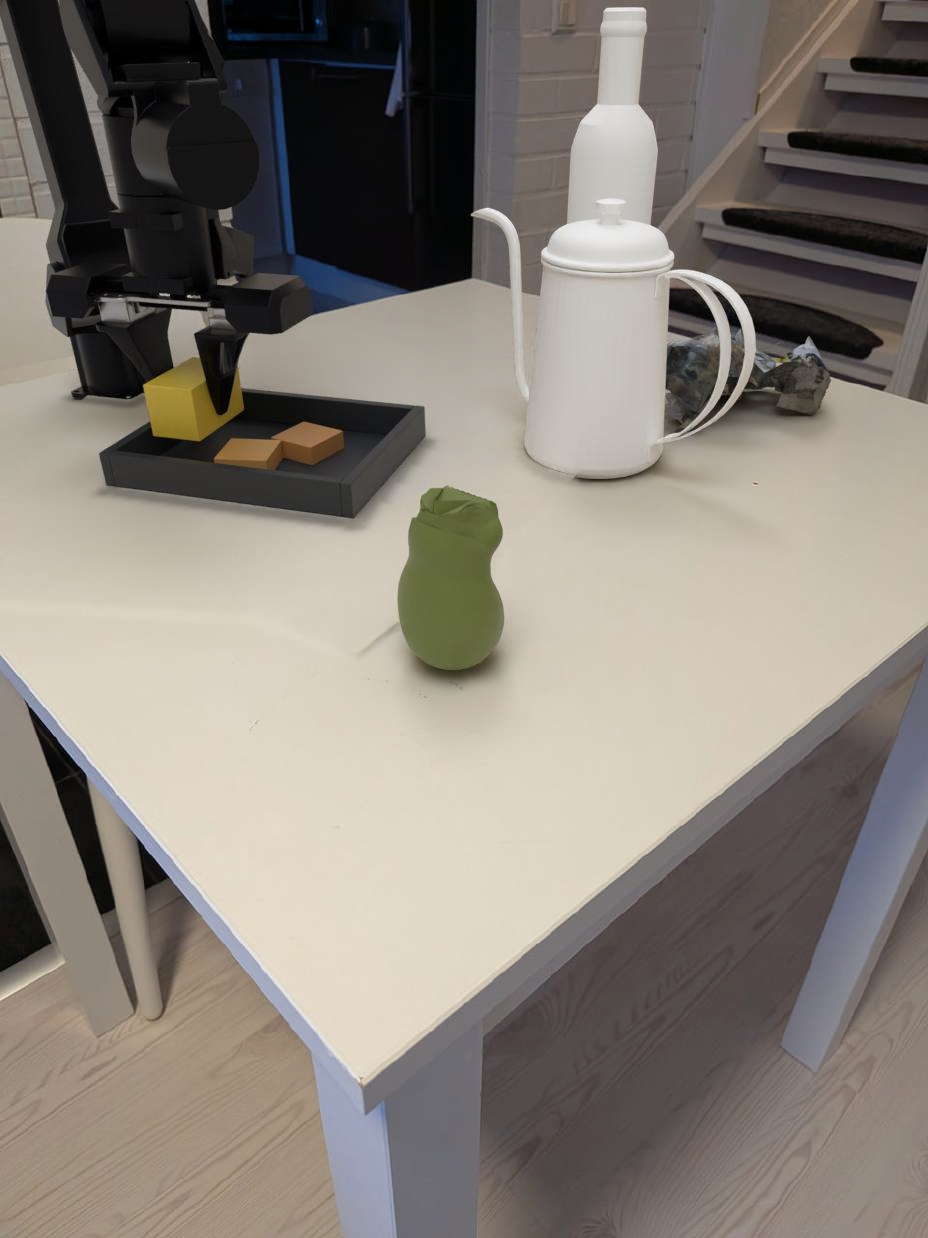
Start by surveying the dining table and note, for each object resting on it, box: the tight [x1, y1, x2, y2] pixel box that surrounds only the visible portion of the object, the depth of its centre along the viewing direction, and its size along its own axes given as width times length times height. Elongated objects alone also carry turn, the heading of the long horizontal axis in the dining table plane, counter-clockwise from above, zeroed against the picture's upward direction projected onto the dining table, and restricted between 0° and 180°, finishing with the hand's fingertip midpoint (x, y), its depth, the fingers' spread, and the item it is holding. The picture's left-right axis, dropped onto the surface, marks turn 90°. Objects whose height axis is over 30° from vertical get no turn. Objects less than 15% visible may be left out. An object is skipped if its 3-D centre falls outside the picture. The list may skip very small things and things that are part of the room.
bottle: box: [566, 6, 659, 225], centre depth 84 cm, size 8×8×30 cm
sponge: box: [143, 356, 244, 441], centre depth 70 cm, size 4×7×4 cm, turn 164°
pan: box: [98, 387, 426, 519], centre depth 71 cm, size 20×16×3 cm
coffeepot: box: [470, 198, 757, 480], centre depth 68 cm, size 11×25×19 cm, turn 47°
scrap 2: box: [271, 422, 344, 465], centre depth 72 cm, size 4×4×2 cm
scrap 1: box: [214, 438, 283, 470], centre depth 69 cm, size 4×4×2 cm
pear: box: [396, 485, 505, 671], centre depth 47 cm, size 6×5×10 cm
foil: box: [664, 326, 832, 433], centre depth 79 cm, size 12×11×15 cm
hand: (198, 410), depth 71 cm, fingers closed on sponge, 4 cm apart
